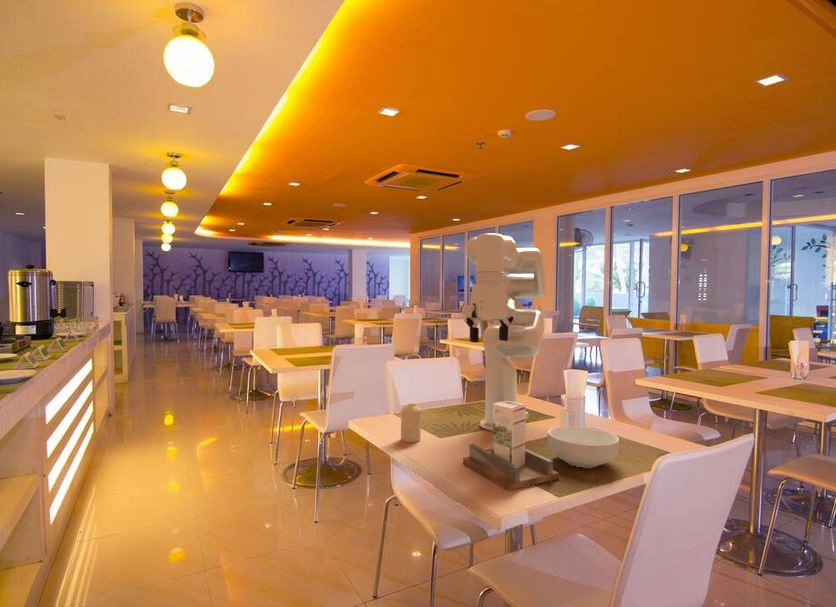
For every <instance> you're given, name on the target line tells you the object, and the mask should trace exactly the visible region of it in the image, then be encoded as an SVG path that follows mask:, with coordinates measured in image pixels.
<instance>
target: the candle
mask: <svg viewBox="0 0 836 607" xmlns="http://www.w3.org/2000/svg"><path fill="white" fill-rule="evenodd" d="M421 413H422V410H421V408H420V407H419V406H417V405H416V404H415V403H408V404H404V405H403V407H402V408H401V409H400V439H401V441H402V442H403V443H418V442H420V441H421V431H422V430H421V429H422V428H421V427H422V426H421V423H422V422H421V421H422V420H421Z"/></svg>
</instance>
